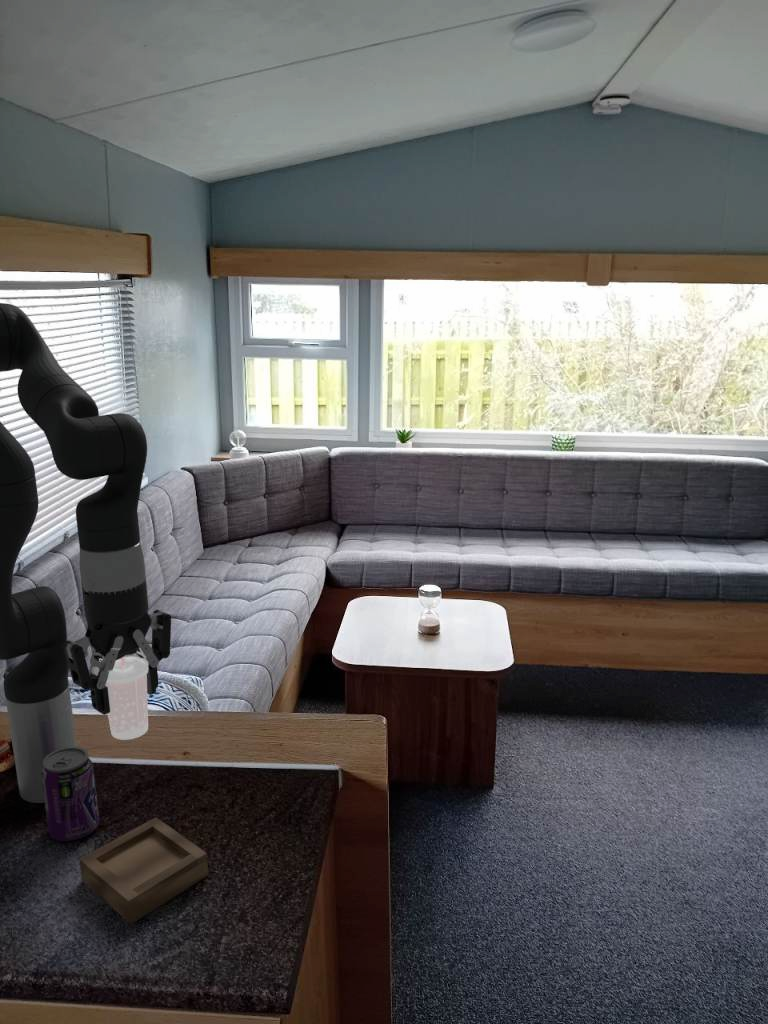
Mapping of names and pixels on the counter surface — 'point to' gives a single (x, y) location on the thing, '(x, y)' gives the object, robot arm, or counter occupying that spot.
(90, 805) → the beverage can
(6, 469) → the robot arm
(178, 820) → the counter surface
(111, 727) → the beverage cup
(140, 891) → the base plinth
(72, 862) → the counter surface
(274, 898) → the counter surface
